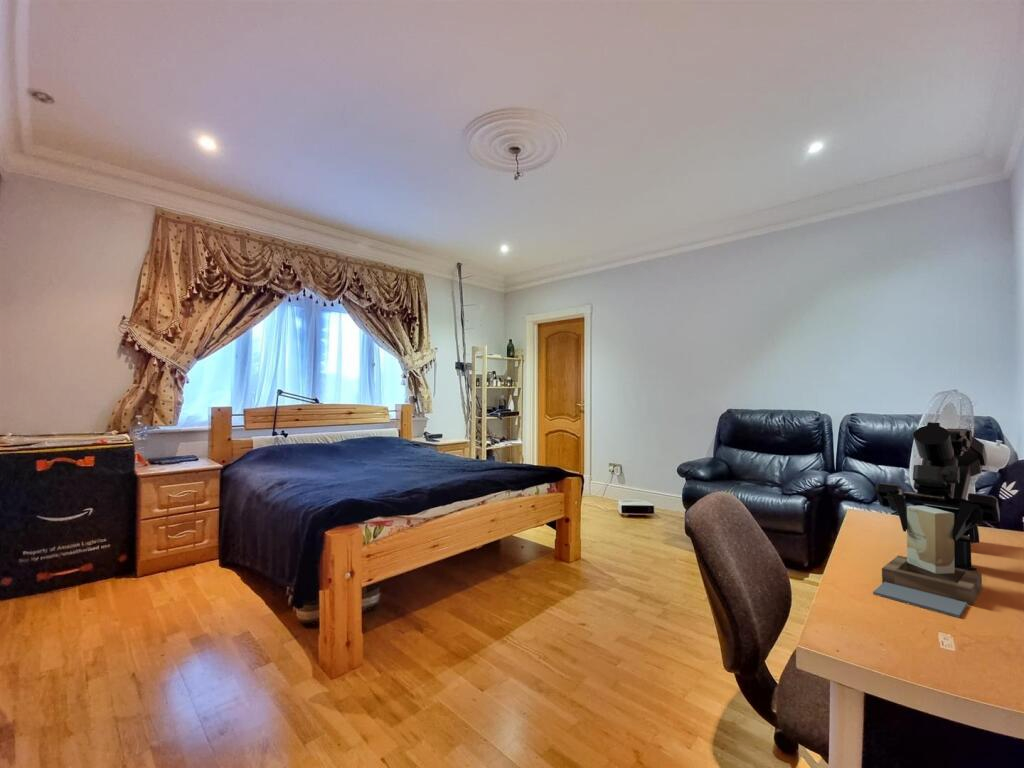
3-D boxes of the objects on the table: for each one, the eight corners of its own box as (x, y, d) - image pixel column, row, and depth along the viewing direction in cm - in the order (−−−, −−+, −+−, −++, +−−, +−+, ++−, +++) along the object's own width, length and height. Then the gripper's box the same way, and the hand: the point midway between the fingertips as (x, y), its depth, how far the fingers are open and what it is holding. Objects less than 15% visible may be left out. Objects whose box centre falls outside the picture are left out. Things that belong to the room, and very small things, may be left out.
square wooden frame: (898, 568, 100) (898, 555, 100) (982, 588, 90) (981, 573, 90) (882, 582, 92) (881, 568, 92) (971, 605, 82) (970, 589, 82)
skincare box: (906, 563, 94) (904, 505, 95) (924, 562, 94) (922, 504, 95) (937, 574, 88) (935, 512, 88) (957, 574, 88) (955, 512, 89)
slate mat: (884, 584, 91) (884, 581, 91) (967, 605, 82) (967, 602, 82) (873, 594, 87) (873, 591, 87) (959, 618, 77) (959, 615, 77)
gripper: (876, 447, 102) (862, 502, 95) (995, 455, 87) (990, 520, 80) (886, 478, 106) (874, 532, 99) (1002, 490, 91) (997, 555, 84)
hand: (928, 534), depth 90 cm, fingers closed on skincare box, 7 cm apart
